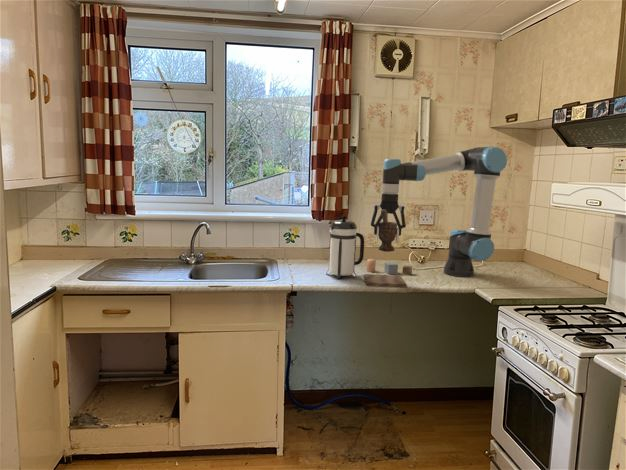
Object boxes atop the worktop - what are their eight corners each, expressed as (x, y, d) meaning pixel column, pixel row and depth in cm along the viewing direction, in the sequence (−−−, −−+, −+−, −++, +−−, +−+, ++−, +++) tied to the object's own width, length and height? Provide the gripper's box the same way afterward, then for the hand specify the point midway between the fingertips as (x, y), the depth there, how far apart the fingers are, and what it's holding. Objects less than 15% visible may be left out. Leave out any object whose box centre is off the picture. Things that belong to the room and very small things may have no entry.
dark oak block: (411, 273, 232) (412, 266, 231) (410, 275, 228) (410, 267, 228) (403, 272, 233) (404, 265, 233) (402, 274, 230) (402, 266, 229)
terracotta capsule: (374, 270, 236) (375, 259, 235) (375, 272, 232) (376, 260, 231) (366, 269, 236) (366, 258, 235) (367, 272, 232) (367, 260, 231)
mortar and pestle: (396, 254, 205) (398, 210, 202) (377, 253, 206) (379, 209, 203) (394, 249, 216) (397, 207, 213) (376, 248, 217) (378, 206, 214)
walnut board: (400, 278, 221) (400, 275, 221) (406, 287, 205) (406, 284, 205) (363, 277, 221) (363, 274, 221) (366, 285, 206) (366, 282, 205)
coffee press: (354, 281, 212) (358, 218, 207) (322, 277, 217) (324, 215, 212) (362, 273, 228) (366, 214, 223) (332, 270, 233) (335, 212, 228)
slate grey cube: (393, 271, 235) (394, 262, 234) (397, 274, 230) (398, 264, 229) (384, 272, 234) (385, 262, 233) (388, 274, 229) (388, 264, 228)
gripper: (411, 193, 210) (408, 241, 214) (365, 191, 210) (363, 239, 214) (415, 194, 203) (411, 244, 206) (367, 192, 203) (364, 242, 207)
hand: (386, 242), depth 210 cm, fingers closed on mortar and pestle, 8 cm apart
